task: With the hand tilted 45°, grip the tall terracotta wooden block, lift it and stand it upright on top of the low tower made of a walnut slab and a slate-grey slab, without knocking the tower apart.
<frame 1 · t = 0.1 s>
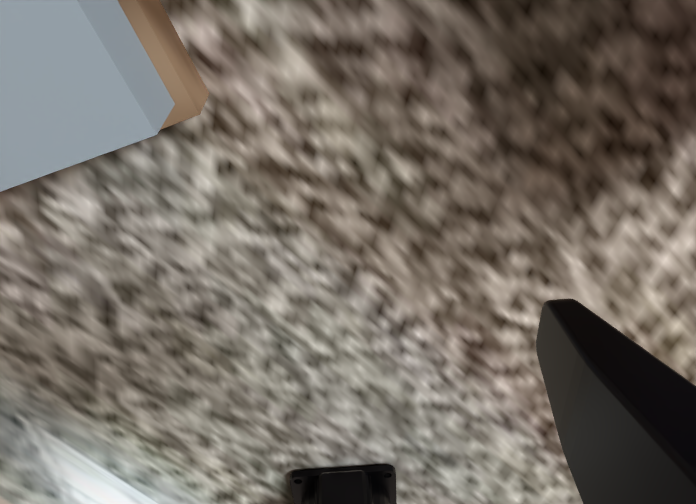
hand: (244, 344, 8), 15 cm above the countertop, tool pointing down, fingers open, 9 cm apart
walnut base slab: (34, 16, 20), on the countertop, touching grey top slab
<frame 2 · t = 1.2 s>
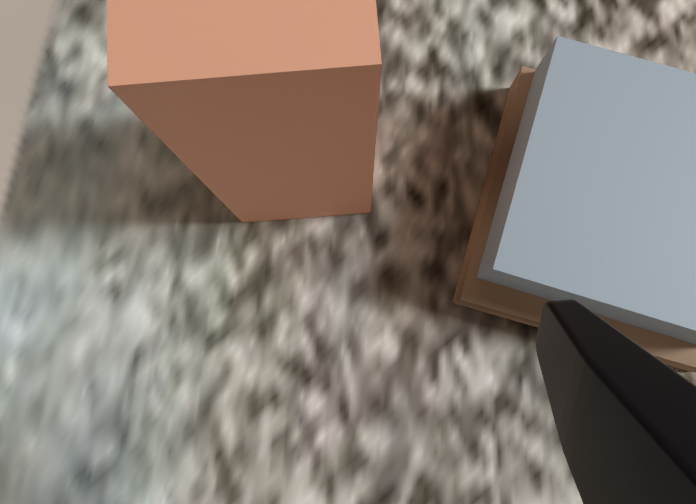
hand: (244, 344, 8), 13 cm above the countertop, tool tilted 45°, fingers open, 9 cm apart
walnut base slab: (588, 226, 23), on the countertop, touching grey top slab
grey top slab: (615, 203, 20), point 2 cm above the countertop, touching walnut base slab
terracotta block: (302, 156, 23), on the countertop
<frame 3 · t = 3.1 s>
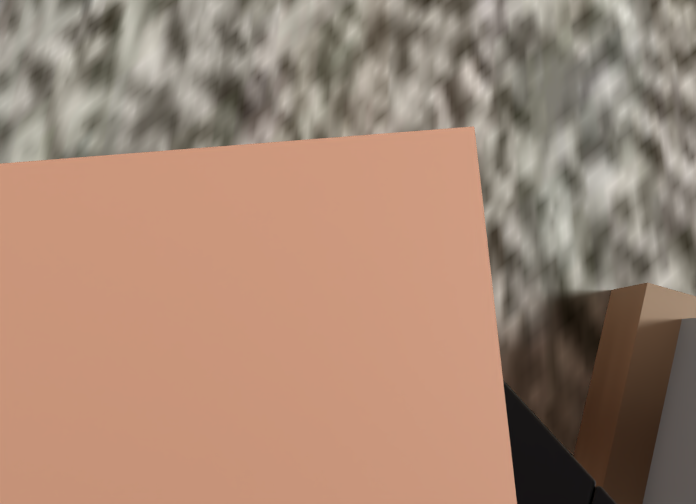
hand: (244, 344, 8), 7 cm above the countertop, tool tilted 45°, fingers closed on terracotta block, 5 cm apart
terracotta block: (297, 395, 15), on the countertop, touching gripper
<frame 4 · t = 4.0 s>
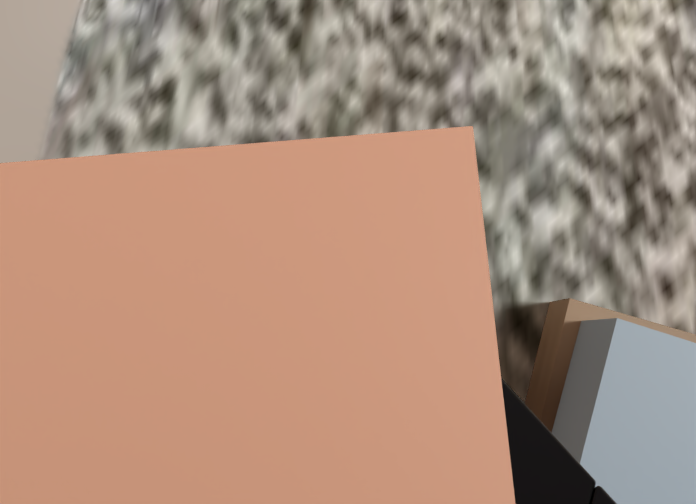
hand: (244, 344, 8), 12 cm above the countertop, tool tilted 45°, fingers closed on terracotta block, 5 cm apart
walnut base slab: (641, 465, 20), on the countertop
grey top slab: (676, 489, 17), point 2 cm above the countertop
terracotta block: (297, 395, 15), point 5 cm above the countertop, touching gripper
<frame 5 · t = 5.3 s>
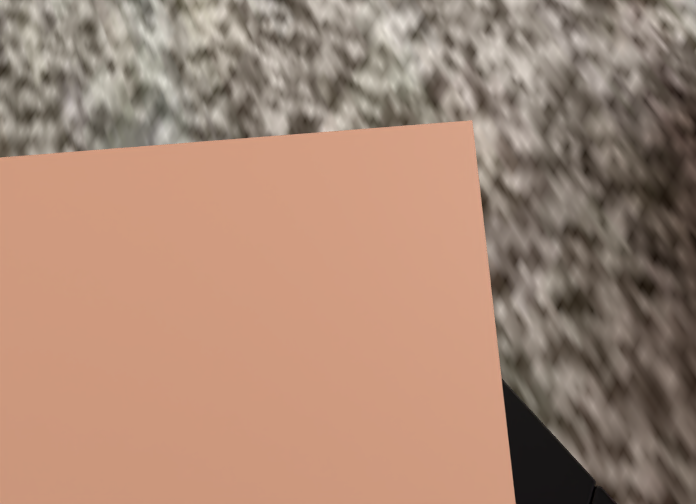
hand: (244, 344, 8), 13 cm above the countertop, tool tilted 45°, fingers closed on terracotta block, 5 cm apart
terracotta block: (297, 394, 15), point 7 cm above the countertop, touching gripper
when the fingers open (13 cm above the countertop, at t = 6.0 s): terracotta block drops 2 cm, resting on grey top slab.
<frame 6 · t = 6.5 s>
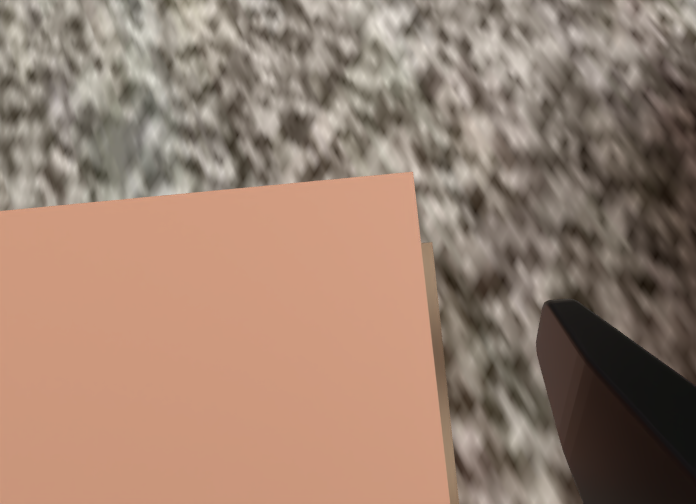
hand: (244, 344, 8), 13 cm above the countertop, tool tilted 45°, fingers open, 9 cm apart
walnut base slab: (318, 378, 22), on the countertop, touching grey top slab
terracotta block: (305, 389, 17), point 4 cm above the countertop, touching grey top slab
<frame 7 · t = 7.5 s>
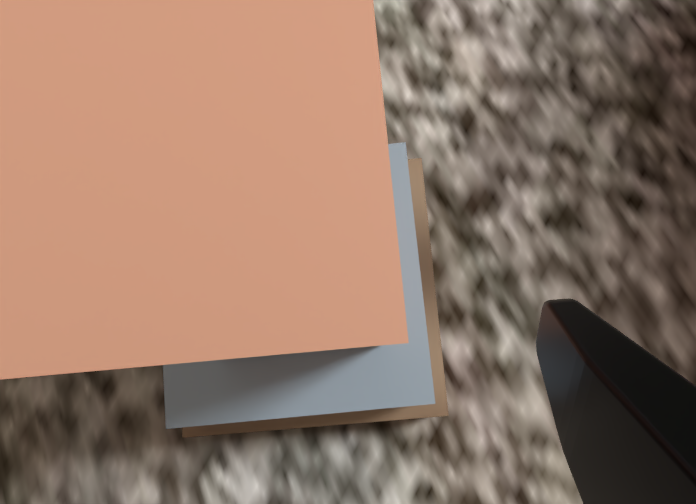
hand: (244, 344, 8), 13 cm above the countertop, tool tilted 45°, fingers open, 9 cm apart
walnut base slab: (311, 298, 22), on the countertop, touching grey top slab
grey top slab: (299, 287, 20), point 2 cm above the countertop, touching walnut base slab
terracotta block: (294, 268, 17), point 4 cm above the countertop
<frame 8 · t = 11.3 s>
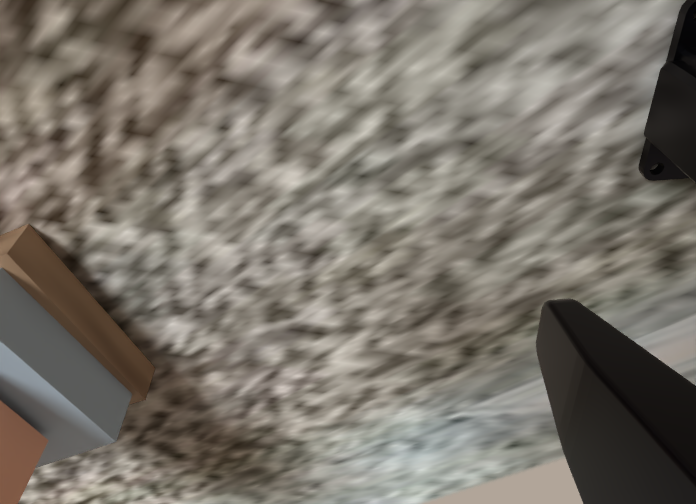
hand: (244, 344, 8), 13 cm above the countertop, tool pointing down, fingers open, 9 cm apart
walnut base slab: (19, 323, 26), on the countertop, touching grey top slab
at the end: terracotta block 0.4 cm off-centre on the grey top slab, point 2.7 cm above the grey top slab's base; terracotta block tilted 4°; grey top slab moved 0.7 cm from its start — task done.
